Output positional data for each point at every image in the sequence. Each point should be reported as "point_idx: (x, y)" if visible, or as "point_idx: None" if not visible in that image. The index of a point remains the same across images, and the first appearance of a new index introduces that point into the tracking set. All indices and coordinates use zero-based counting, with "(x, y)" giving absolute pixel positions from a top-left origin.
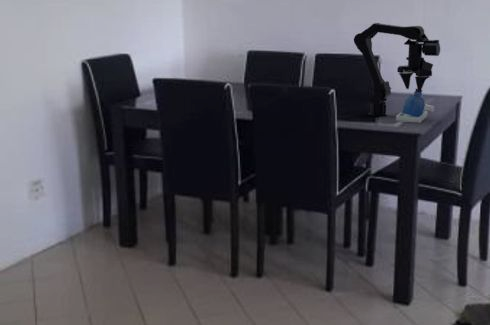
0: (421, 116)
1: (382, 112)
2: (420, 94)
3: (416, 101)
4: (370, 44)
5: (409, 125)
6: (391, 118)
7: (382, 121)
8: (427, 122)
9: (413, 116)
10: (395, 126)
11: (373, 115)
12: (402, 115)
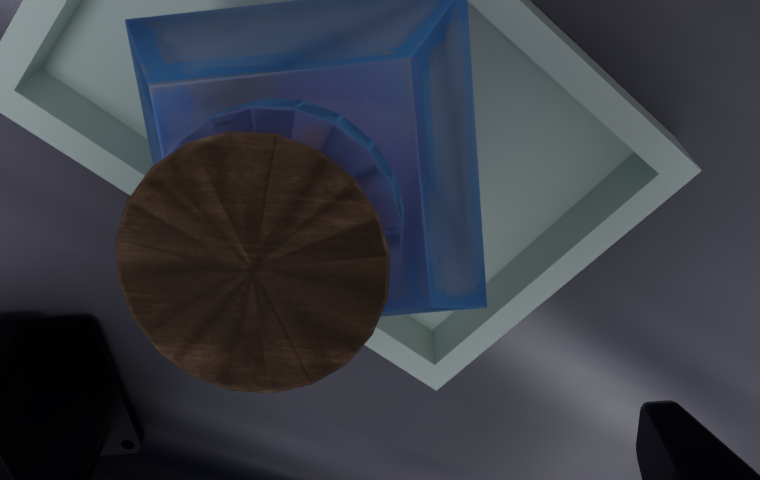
0: (637, 112)
1: (84, 396)
2: (397, 193)
3: (473, 244)
4: None
5: (733, 318)
6: None
7: (400, 458)
8: (711, 17)
9: None
10: None
11: (110, 453)
12: None
